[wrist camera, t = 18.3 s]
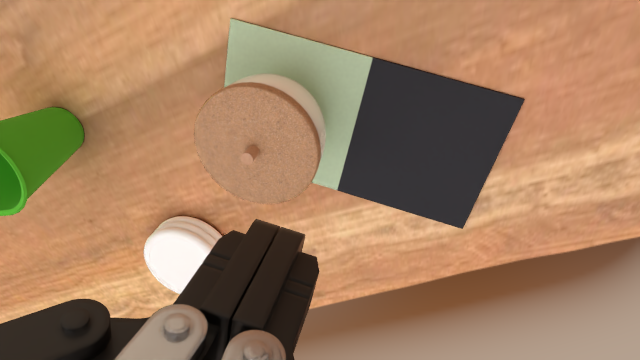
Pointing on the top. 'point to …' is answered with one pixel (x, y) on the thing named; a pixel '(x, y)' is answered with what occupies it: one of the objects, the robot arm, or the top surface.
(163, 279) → the white round stack
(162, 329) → the robot arm
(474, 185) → the runner mat
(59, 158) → the cup
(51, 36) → the top surface
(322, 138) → the trinket box
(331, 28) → the top surface
